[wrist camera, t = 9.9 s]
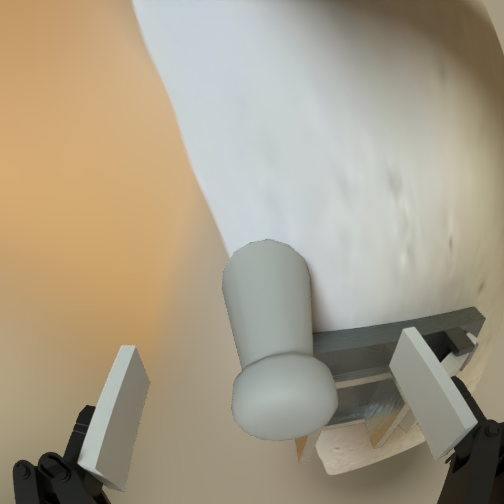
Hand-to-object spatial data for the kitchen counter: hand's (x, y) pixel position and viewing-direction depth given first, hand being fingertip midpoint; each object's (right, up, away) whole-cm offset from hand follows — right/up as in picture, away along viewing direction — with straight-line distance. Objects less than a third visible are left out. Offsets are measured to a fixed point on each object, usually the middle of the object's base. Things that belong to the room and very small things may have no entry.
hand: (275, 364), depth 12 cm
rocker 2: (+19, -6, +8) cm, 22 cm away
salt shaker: (0, +4, +8) cm, 9 cm away
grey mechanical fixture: (+14, -7, +14) cm, 21 cm away
